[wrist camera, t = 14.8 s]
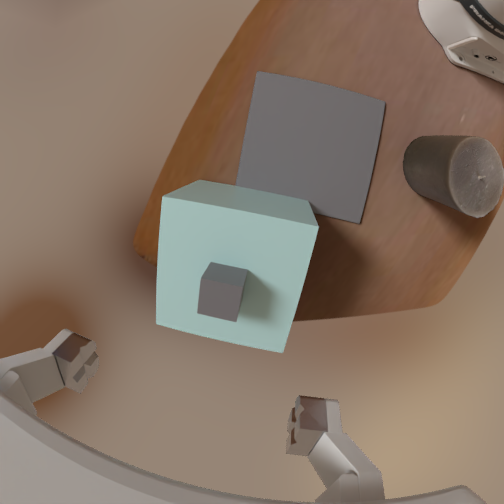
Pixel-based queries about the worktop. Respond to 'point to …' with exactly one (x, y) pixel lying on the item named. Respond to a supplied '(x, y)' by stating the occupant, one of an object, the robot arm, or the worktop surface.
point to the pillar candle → (456, 172)
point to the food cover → (232, 262)
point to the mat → (311, 144)
